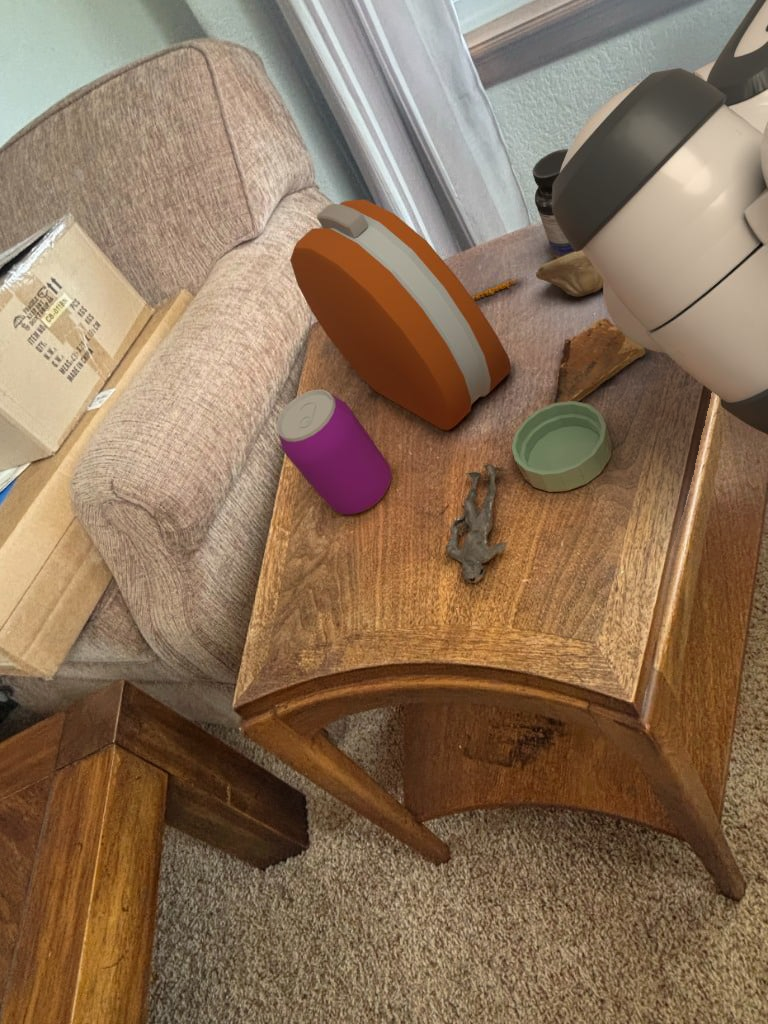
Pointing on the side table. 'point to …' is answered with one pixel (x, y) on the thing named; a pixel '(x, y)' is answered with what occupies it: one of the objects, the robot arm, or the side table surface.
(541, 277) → the fossil
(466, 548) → the figurine
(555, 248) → the pill bottle
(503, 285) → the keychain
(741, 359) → the robot arm
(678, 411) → the side table surface
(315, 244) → the alarm clock
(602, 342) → the shard
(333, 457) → the beverage can
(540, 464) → the bowl
